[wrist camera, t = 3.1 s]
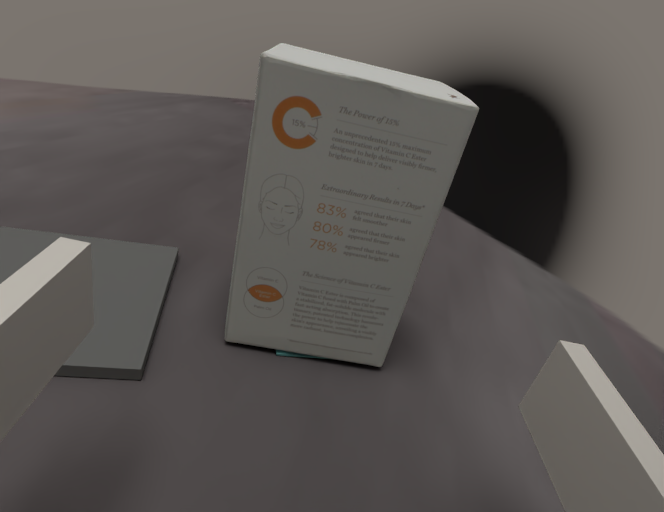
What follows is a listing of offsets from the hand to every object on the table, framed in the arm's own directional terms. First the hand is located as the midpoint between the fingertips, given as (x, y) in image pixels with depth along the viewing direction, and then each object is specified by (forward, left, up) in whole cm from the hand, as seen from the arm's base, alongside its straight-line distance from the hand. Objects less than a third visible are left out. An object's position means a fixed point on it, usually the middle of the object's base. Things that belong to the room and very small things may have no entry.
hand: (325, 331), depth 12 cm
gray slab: (+11, -9, -7) cm, 16 cm away
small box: (-2, -9, -7) cm, 12 cm away
